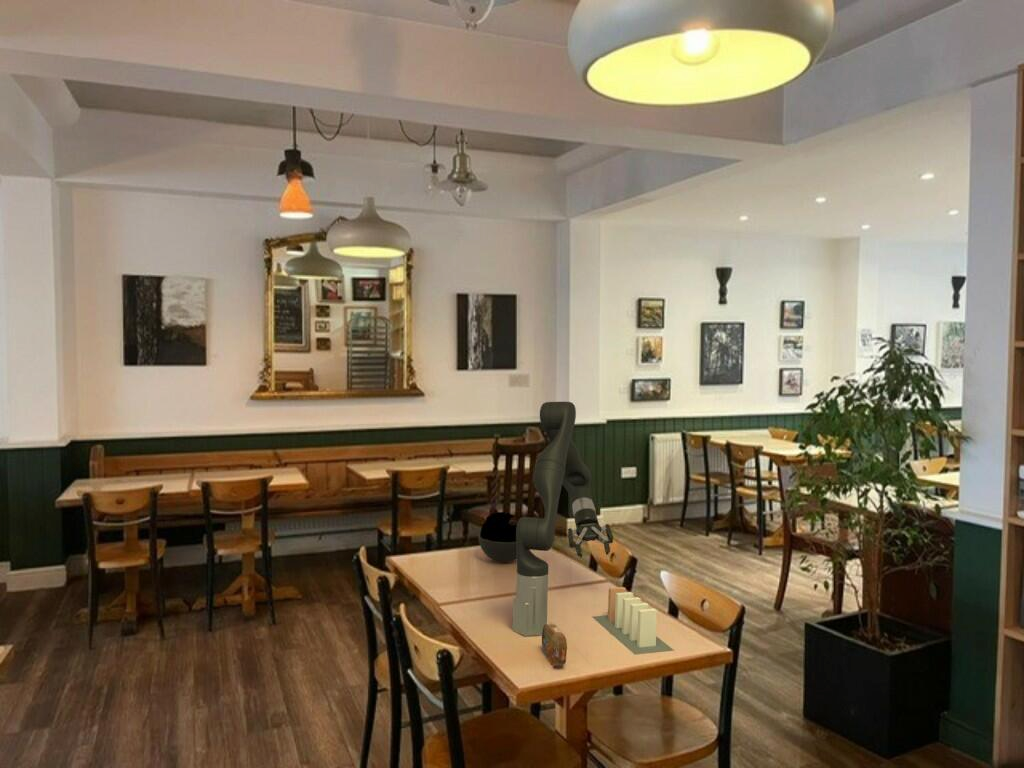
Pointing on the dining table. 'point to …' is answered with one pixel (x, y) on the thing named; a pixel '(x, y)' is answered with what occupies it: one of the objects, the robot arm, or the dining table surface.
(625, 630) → the domino
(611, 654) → the dining table surface
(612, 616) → the domino
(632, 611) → the domino
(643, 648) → the mat
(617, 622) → the domino
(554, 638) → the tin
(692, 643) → the dining table surface
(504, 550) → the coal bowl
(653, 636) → the domino
